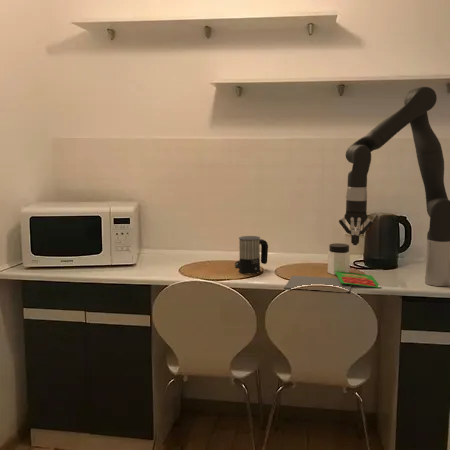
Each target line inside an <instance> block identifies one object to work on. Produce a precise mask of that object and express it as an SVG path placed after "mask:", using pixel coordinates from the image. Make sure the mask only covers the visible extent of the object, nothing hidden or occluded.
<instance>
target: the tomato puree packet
mask: <svg viewBox="0 0 450 450" xmlns="http://www.w3.org/2000/svg"><path fill="white" fill-rule="evenodd" d="M335 273H336V275H335V276H337V277H336V278H339V280H340V282H341V283H343V284H351V286H352V285H354V286H360V287H368V288H377V289H378V288H379V289H381V288H380V287H378V285H380V283H378V281H377V280H376V278H374V275H371V274H370V275H368V274H363V273H355V272H350V273H347V272H338V271H335Z"/></svg>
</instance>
